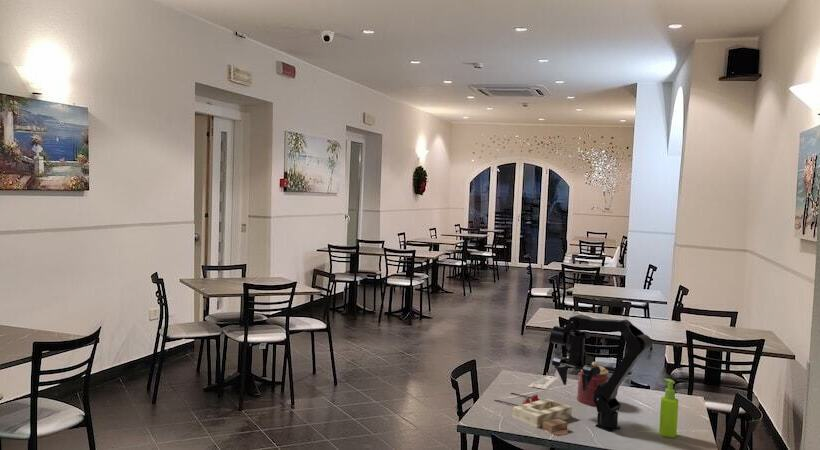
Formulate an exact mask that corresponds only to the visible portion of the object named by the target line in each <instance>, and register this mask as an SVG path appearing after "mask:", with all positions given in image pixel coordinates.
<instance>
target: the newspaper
mask: <svg viewBox="0 0 820 450" xmlns="http://www.w3.org/2000/svg"><path fill="white" fill-rule="evenodd" d="M550 377H552V378H550ZM559 379H560V378H559V377H556V376H552V375H545V376H543V377H541V378H540V379H538V380H536V381H534V382H531V384H529V385H527V387H530V388H534V389H535V388H537V389H542V390H545V391H548V390H549V389H550V388H551V387H553V385H555V383H556V382H557V381H558V380H559Z"/></svg>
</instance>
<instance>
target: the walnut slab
mask: <svg viewBox="0 0 820 450" xmlns="http://www.w3.org/2000/svg"><path fill="white" fill-rule="evenodd" d="M543 429H544V430H546V431H548V432H551V433H553V432H557V431H561V430H565V429H568V422H567V421H565V420H561V419H554V420H550V421H546V422H543V426H542V430H543ZM546 431H545V432H546ZM548 432H547V433H548ZM551 433H550V434H551Z"/></svg>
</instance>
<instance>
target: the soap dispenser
mask: <svg viewBox="0 0 820 450" xmlns="http://www.w3.org/2000/svg"><path fill="white" fill-rule="evenodd" d="M663 380H664V381H666V382H667V387H666V388H665V389H664V396H661V398H660V408H659V409H660V413H659V428H658V429H659V430H658V431H659V432H658V434H659V435H660V436H662V437H666V438H677V430H678V418H679V417H678V414H679V413H678V412H679V399H678V398H676V390H675V389H674V384H675V385H676V381H674V379H672V378H663Z"/></svg>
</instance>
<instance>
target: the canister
mask: <svg viewBox="0 0 820 450" xmlns="http://www.w3.org/2000/svg"><path fill="white" fill-rule="evenodd" d="M584 365H585V366H587V365H588V364H584ZM592 365H595V366H599V368H600V374H597V375H596V376H593V377H592V379H591V380H590V382H589V385H588V387H587V389H586V391H583V383H582V374H584V373H583V370H580V372H578V373H577V376H578V381H577V395H576V401H578V402H579V403H580V404H582V405H586V406H588V407H589V406H590V407H596V404H595V403H594V401H593V395H594V393H593V392H595V391H596V389H597V387H598V385H599V384H602V383H604V382H606V383H607V382H608V380H609V379H610V377H611V376H610V375H608V374H609V370H608V369H606V367H604V366H603V365H599V363H598V362H597V361H592Z"/></svg>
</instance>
